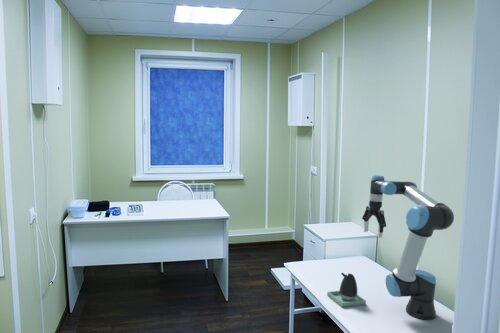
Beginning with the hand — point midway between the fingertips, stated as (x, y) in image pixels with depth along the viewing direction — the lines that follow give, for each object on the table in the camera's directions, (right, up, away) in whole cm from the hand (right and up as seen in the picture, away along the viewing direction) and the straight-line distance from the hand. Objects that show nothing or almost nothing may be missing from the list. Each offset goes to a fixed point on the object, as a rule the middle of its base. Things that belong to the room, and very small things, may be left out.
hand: (372, 234), depth 248 cm
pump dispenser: (-19, -35, -15) cm, 43 cm away
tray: (-20, -35, -16) cm, 44 cm away
